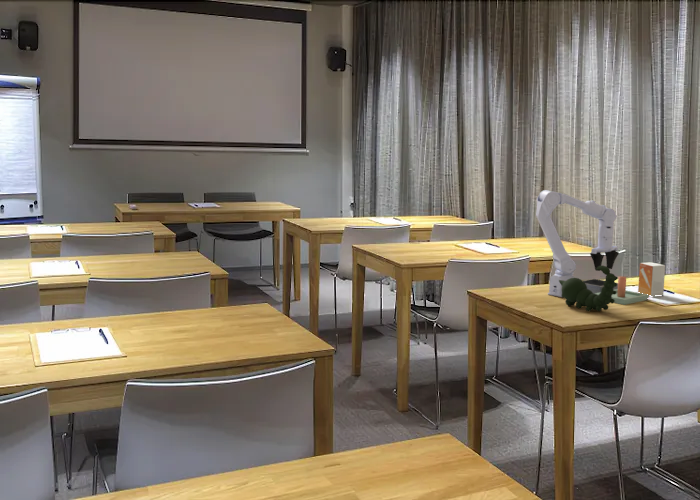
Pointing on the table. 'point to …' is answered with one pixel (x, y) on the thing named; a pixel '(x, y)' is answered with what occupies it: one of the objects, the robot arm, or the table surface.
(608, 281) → the toy figurine
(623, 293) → the dowel
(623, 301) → the tray
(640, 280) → the small box
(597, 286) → the grey square bin
